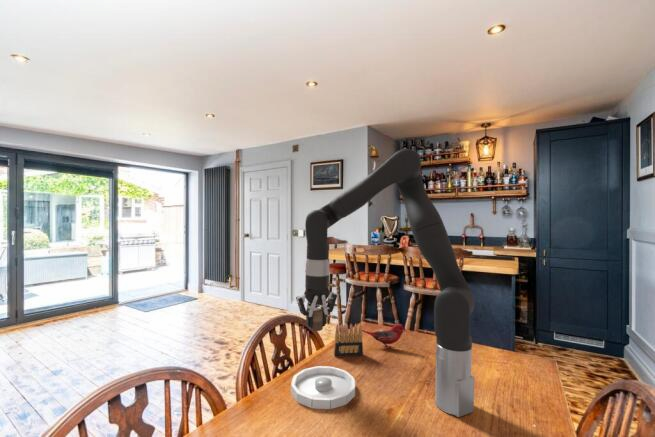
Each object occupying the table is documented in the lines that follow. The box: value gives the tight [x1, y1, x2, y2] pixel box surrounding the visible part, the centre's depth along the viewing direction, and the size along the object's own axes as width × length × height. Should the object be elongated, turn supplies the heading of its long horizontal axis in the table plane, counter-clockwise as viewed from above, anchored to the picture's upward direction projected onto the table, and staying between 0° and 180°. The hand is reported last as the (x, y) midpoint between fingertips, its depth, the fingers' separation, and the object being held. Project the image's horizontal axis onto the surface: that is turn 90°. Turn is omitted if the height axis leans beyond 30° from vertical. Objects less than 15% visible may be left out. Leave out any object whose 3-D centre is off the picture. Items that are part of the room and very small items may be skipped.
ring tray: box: [290, 365, 356, 410], centre depth 97 cm, size 19×19×2 cm
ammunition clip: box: [333, 323, 364, 358], centre depth 121 cm, size 11×2×12 cm, turn 96°
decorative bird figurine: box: [362, 323, 407, 349], centre depth 128 cm, size 3×18×10 cm, turn 78°
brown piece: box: [309, 307, 324, 332], centre depth 102 cm, size 4×4×6 cm
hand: (316, 326), depth 102 cm, fingers closed on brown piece, 4 cm apart
